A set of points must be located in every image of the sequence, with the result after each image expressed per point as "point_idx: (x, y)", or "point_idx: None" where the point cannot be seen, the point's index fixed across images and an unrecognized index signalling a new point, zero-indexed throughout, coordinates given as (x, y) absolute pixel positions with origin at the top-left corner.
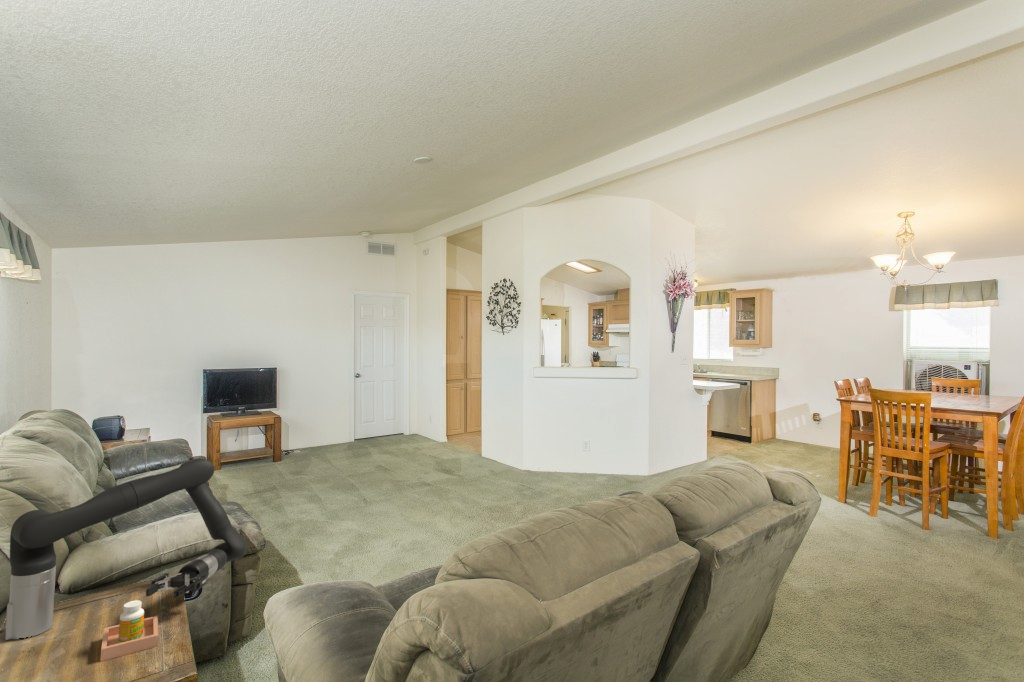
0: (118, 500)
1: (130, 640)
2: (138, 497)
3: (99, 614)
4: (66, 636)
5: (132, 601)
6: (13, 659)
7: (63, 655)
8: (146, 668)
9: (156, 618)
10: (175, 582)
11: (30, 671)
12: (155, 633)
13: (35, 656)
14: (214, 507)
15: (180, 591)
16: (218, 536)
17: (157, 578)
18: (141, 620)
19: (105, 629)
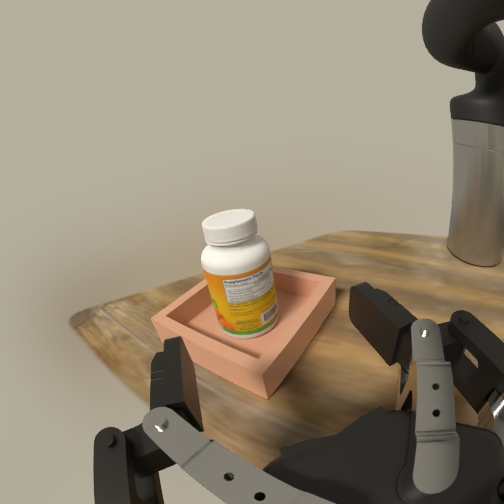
0: None
1: (203, 287)
2: None
3: (493, 321)
4: (415, 272)
5: (244, 218)
6: (381, 234)
7: (330, 261)
8: (132, 302)
9: (242, 362)
10: (346, 433)
11: (318, 238)
12: (164, 319)
13: (367, 245)
14: None
15: (152, 361)
16: None
17: (493, 340)
18: (206, 280)
19: (323, 277)
